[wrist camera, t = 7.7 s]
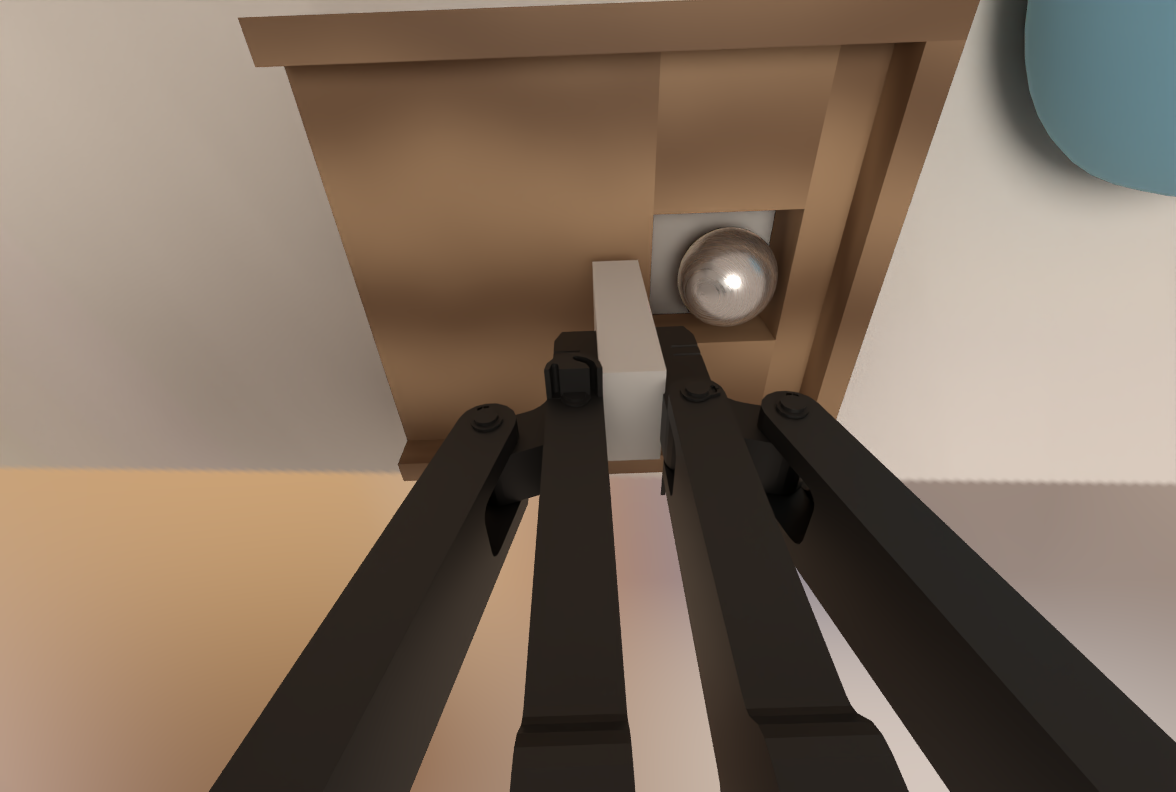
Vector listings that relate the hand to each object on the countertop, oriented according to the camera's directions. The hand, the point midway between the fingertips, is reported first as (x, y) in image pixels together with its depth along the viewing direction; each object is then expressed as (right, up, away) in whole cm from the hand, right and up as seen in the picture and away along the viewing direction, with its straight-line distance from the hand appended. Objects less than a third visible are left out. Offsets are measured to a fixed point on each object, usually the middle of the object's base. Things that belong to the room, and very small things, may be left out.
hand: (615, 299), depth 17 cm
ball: (+5, +2, +3) cm, 6 cm away
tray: (0, +2, +3) cm, 4 cm away
